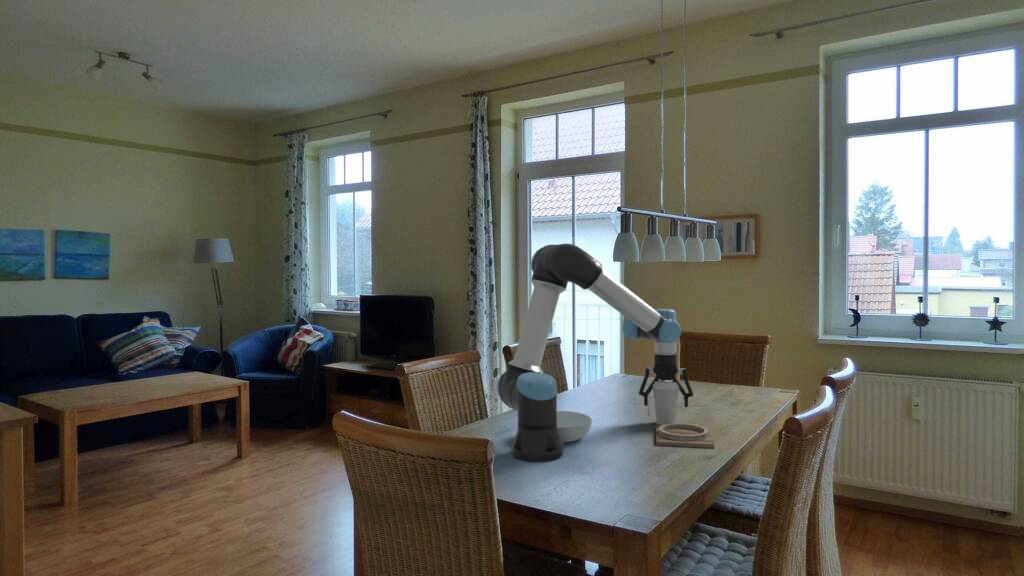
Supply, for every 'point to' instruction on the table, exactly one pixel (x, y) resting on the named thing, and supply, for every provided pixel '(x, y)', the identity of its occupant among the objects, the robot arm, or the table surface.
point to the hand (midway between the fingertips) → (665, 415)
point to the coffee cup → (665, 401)
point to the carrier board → (683, 435)
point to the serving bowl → (572, 425)
